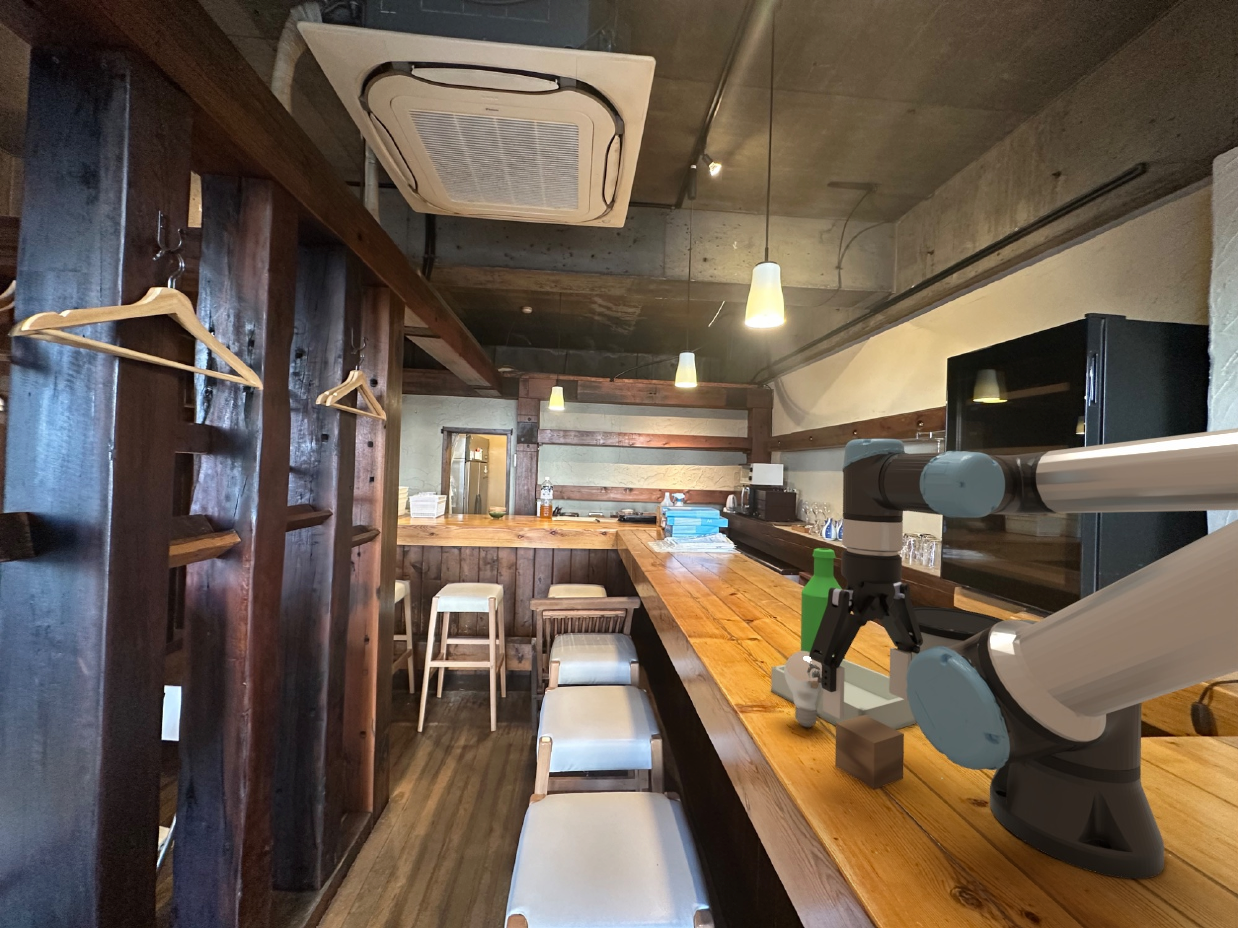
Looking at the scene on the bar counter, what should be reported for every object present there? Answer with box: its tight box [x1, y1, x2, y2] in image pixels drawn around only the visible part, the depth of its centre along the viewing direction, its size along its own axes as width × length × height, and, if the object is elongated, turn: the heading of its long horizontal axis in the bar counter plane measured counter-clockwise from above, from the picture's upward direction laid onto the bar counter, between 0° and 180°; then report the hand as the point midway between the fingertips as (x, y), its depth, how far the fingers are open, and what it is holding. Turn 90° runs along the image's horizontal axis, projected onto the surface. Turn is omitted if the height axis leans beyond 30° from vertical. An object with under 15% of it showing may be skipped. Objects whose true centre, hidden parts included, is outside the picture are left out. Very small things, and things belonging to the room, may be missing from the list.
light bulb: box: [784, 650, 823, 729], centre depth 84 cm, size 7×7×12 cm
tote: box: [770, 655, 917, 731], centre depth 92 cm, size 20×17×4 cm
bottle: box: [800, 547, 846, 660], centre depth 111 cm, size 9×9×25 cm
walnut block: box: [834, 715, 905, 791], centre depth 71 cm, size 6×6×6 cm
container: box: [909, 605, 1005, 659], centre depth 95 cm, size 19×19×15 cm
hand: (867, 704), depth 72 cm, fingers open, 13 cm apart
